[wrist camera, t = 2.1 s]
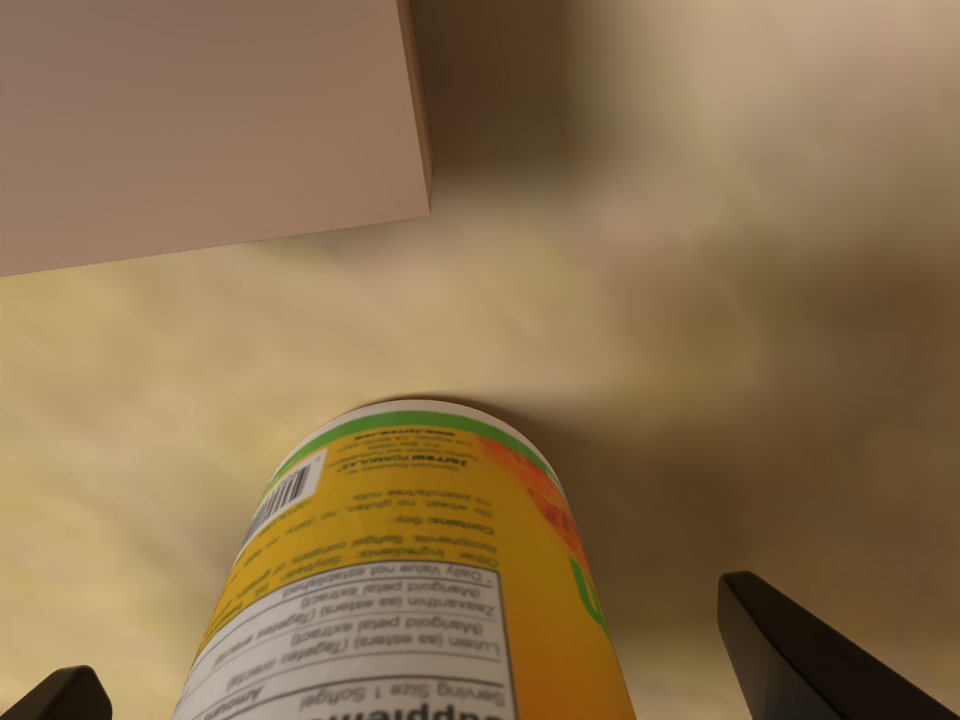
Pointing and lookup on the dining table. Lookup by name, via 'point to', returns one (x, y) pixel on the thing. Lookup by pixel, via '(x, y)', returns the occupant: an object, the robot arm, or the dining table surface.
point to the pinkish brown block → (203, 125)
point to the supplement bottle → (409, 584)
